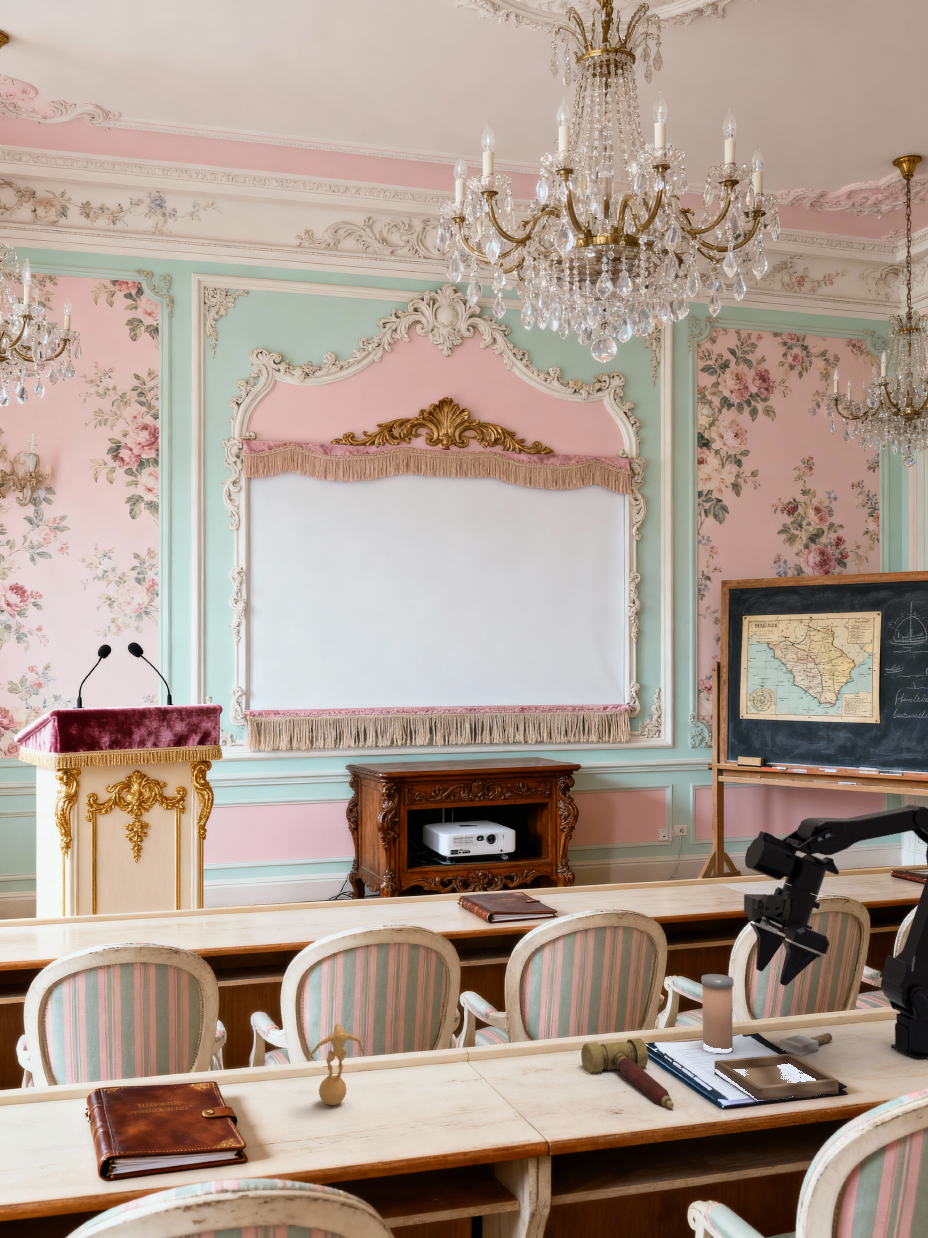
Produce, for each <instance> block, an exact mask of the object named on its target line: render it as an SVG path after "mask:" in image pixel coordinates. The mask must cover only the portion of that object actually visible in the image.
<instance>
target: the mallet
mask: <svg viewBox="0 0 928 1238" xmlns="http://www.w3.org/2000/svg"><path fill="white" fill-rule="evenodd" d="M832 1041H833V1035H832V1034H831V1033H829V1032H826V1033H822V1034H819V1035H816V1036H813V1037H806V1036H803V1035H800V1034H797V1035H794V1036H790V1037H788V1038H783V1039H780V1049H781V1048H782V1049H784V1050H786V1051H785V1052H787V1051H788V1052H787V1053H790V1052H791V1053H790V1054H792V1055H793V1054H794V1055H796V1056H799V1057H802V1056H805V1055H809V1054H812V1053H814V1052H815V1053H816V1052H819V1046H820V1045H823V1044H826V1043H829V1042H832ZM784 1050H783V1051H784Z"/></svg>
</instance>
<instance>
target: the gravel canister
mask: <svg viewBox="0 0 928 1238" xmlns="http://www.w3.org/2000/svg"><path fill="white" fill-rule="evenodd" d="M700 980H701V984H702V1043H703V1042H704V1043H705V1044H706V1045H708V1046H710V1047H713V1048H721V1049H729V1048H732V1047H733V1048H734V1045H733V1041H734V1039H733V1036H734V1035H733V1030H734V1027H733V1026H734V1025H733V1024H734V1023H733V1021H734V1020H733V1019H734V1017H733V987H734V984H735V983H734V977H732V976H730V975H726V974H718V973H709V974H708V973H707V974H703V975H701V979H700Z"/></svg>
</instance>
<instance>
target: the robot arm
mask: <svg viewBox="0 0 928 1238" xmlns="http://www.w3.org/2000/svg"><path fill="white" fill-rule="evenodd" d="M906 832H913V833H914V835H916V837H917V838H918V839H919V840H921V841H922V842H923V843H925V844H926V851H925V859H926V864H927V867H928V807H926V806H921V805H915V804H907V805H905V806H902V807H898V808H894V809H888V810H883V811H877V812H872V813H867V814H861V815H857V816H851V817H847V818H839V817H807V818H805V819H803V820H801V821H800V823H799V825H798V827H797V829H795V831H793V832H792V833H790V834H788V835H787V836H785V837H784V838H783V839H780V838H778V837H775V836H774V835H773V834H772V833H769V832H766V831H763V830H760V831H759V834H758V836H757V837H756V838H754V839H753V840H752V842H751V844H749V846H748V847H747V849H746V852H745V857H744V862H745V866H746V868H748V869H749V870H752V871H754V872H756V873H759V874H761V875H764V876H766V877H769V878H771V879H774V880H776V881H780V880H783V879H784V878H785V880H784V883H783V886H782V888H781V887H779V886H778V887H776V888H775V889H774V893H771V894H766V893H764V894H763V893H746V894H744V895H743V914H745V915H748V917H747V920H749V921H751V922H749V924H750V927H751V928H752V929H753V931H754V933H755V935H756V958H755V959H756V961H755V962H756V963H755V965H756V966H755V969H756V970H757V971H760V972H763V971H764V970H765V969H766V968H767V966H768V965H769V964H770V962H771V960H772V959H773V957H775V955H776V954H777V952H778V950H779V949H780V948H781V946H782V944H783V946H784V950H785V956H784V961H783V963H782V964H783V965H782V968H781V971H780V972H781V973H780V979H779V984H780V985H781V986H784V987H787V986H788V985H789V984H790V983H791V982H792V981H793V980H794V979H795V978H796V977H797V976H798V975H799V974H800V973H801V972H802V971H804V969H806V968H807V967H808V966H809V965H811V963H812V962H814V961H815V960H816V959H817V958H821V956H822V955H821V954H824V955H827V954H828V950H829V947H830V945H831V944H830V941H829V938H828V937H827V936H826V935H824V934H822V933H820V932H817V931H816V930H813V926H811V925H809V922H810V920H811V918H812V917H811V916H812V914H813V910H814V909H816V910H820V906H821V903H819V902H817V899H818V896H819V893H820V891H821V887H822V885H823V882H824V878H825V875H826V872H827V873H830V874H833V875H839V874H840V871H839V869H838V867H837V866H836V864H835V861H834V858H831V857H829V856H832V855H835V854H838V853H839V852H842V851H845V850H847V849H849V848H850V847H852V846H853V845H854V844H856V843H860V842H862V841H867V840H871V839H877V838H882V837H888V836H893V835H897V834H902V833H906ZM798 852H799V853H802V854H804V855H803V856H800V855H797V854H796V853H798ZM814 854H819V855H822V856H823V855H824V856H825V857H823V858H821V857H818V856H816V855H814ZM923 885H924V886H923V889H922V891H921V895H920V898H919V901H918V904H917V907H916V909H915V912H914V916H913V918H912V919H913V920H912V921H911V925H910V928H909V929H908V933H907V937H906V940H905V943H904V946H903V948H902V950H901V952H899V954H898V955H896V956H895V957H894V956H891V955H889V954H888V955H886V958H885V961H884V966H883V969H882V972H881V973H880V974H879V978H881V981H880V989H881V990H882V993H883V995H884V996H885V998H887V999H888V1002H889V1004H890V1007H891V1009H892V1010H895V1011H898V1012H899V1013H896V1017H895V1018H896V1023H895V1024H894V1043H891V1044H890V1048H892V1049H893V1050H896V1051H898V1052H900V1053H901V1054H904V1055H906V1056H909V1057H911V1058H912V1059H916V1060H921V1059H928V875H927V877H926V879H925V881H924V884H923ZM752 922H753V923H752ZM780 933H781V934H783V935H781V934H780ZM786 939H787V940H786Z"/></svg>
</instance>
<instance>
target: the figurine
mask: <svg viewBox="0 0 928 1238" xmlns="http://www.w3.org/2000/svg"><path fill="white" fill-rule="evenodd" d="M347 1040H350V1041H354V1042H357V1044H358V1047H359V1049H358V1050H359V1051H360V1053H361V1055H364V1054H365V1049H364V1047H363V1044H362V1041H361V1039H360V1037H357V1036H355V1035H352V1034H350V1033H348V1032H346V1031H345V1030H344V1029H343V1027H342V1026H341V1024H340V1023H336V1024H335V1026H334V1028H333V1033H331V1034H330V1035H329V1036H327V1037H326V1038H325V1039H322V1040H321V1041H319V1042H318V1043H317V1044H316V1046H315V1047H314V1048H313V1049H312V1050H311V1052H310V1054H309V1056H308V1059H307V1061H308V1062H309V1061H310V1060H311V1057H312V1056H313V1055H314V1054H315V1053H316V1052H317V1051H318V1049H319V1048H320V1047H321V1046H323V1045H325V1044H328V1043H330V1042H331V1044H332V1045H331V1046H332V1049H333V1050H331V1049H329V1050H328V1052H327V1053H328V1054H327V1057H326V1063H327V1070H328V1071H329V1074H328V1075H327V1076H326V1077H325V1078H324V1079H323V1080H322V1081H321V1083H320V1085H319V1089H318V1095H319V1097H320V1099H321V1101H322V1102H323V1103H324V1104H326V1105H328V1106H337V1105H339V1104H340V1103H342V1101H344V1099H345V1098H346V1095H347V1085H346V1084H347V1083H345V1080H343V1078H342V1073H343V1068H344V1065H343V1063H342V1062H343V1061H344V1060H345V1057H346V1055H347V1049H346V1048H344V1047H345V1045H346V1043H347ZM335 1058H337V1060H338V1066H337V1067H338V1072H337V1074H336V1075H333V1066H332V1064H331V1063H332V1062H333V1061H334V1060H335Z"/></svg>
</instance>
